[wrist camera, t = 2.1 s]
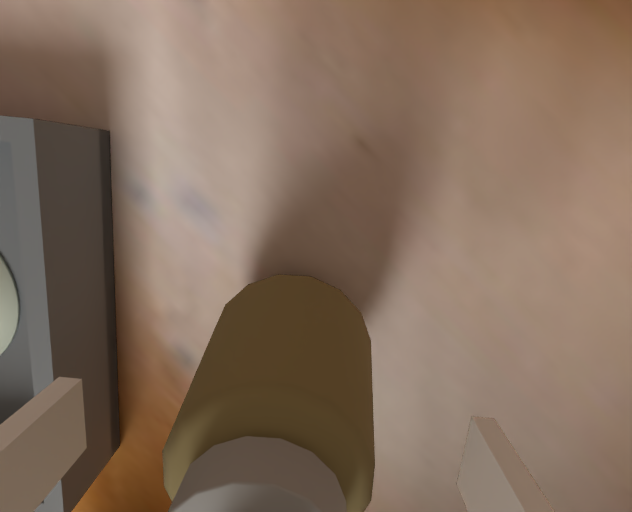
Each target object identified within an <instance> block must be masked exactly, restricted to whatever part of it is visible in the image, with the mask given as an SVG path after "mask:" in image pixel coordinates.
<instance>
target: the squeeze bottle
mask: <svg viewBox="0 0 632 512" xmlns="http://www.w3.org/2000/svg"><path fill="white" fill-rule="evenodd" d="M162 453H163V475H164V487H165V489H166V491H167V493H168V495H169V497H170V499H171V500H172V504H171V506H170V508H169V510H168V512H364V511H365V509H366V507H367V506H368V504H369V503H370V501H371V496H372V487H373V477H374V468H375V455H374V425H373V394H372V363H371V340H370V337H369V334H368V331H367V328H366V325H365V323H364V320H363V317H362V314H361V312H360V311H359V310H358V309H357V308H356V307H355V306H354V305H353V303H352V302H351V301H350V300H349V299H348V298H347V297H346V296H345V295H344V294H343V293H342V292H341V290H339V289H337V288H335V287H333V286H330V285H328V284H326V283H324V282H322V281H320V280H318V279H315V278H313V277H311V276H296V275H279V274H278V275H275V276H272V277H269V278H266V279H263V280H260V281H257V282H254V283H251V284H248V285H247V286H246V287H245V288H244V289H243V290H242V291H240V292H239V293H238V294H237V295H236V296H235V297H234V298H233V299H231V300H230V301H229V302H228V303H227V304H226V305H225V307H224V309H223V312H222V314H221V316H220V318H219V321H218V323H217V325H216V327H215V329H214V332H213V334H212V336H211V339H210V341H209V343H208V346H207V348H206V350H205V353H204V355H203V357H202V360H201V362H200V364H199V367H198V369H197V371H196V374H195V376H194V378H193V381H192V383H191V385H190V388H189V390H188V392H187V395H186V397H185V399H184V402H183V404H182V406H181V409H180V411H179V413H178V416H177V418H176V421H175V423H174V425H173V428H172V430H171V432H170V435H169V437H168V439H167V442H166V444H165V446H164V449H163V451H162Z"/></svg>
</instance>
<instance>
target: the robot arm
mask: <svg viewBox="0 0 632 512" xmlns="http://www.w3.org/2000/svg"><path fill="white" fill-rule="evenodd" d="M86 448H87V445H86V431H85V417H84V403H83V388H82V379H77V378H67V377H58V378H57V379H56V380H55V381H53V382H52V383H51V384H50V385H48V386H47V387H46V388H45V389H44V390H42V391H41V392H40V393H39V394H37V395H36V396H35V397H34V398H32V399H31V400H30V401H29V402H28V403H26V404H25V405H24V406H23V407H21V408H20V409H19V410H18V411H17V412H15V413H14V414H13V415H12V416H10V417H9V418H8V419H7V420H5V421H4V422H3V423H2V424H1V425H0V512H34V511H35V509H36V508H37V507H38V506H39V505H40V503H41V502H42V501H43V500H44V499H45V497H46V496H47V495H48V494H49V493H50V491H51V490H52V489H53V488H54V487H55V485H56V484H57V483H58V482H59V481H60V479H61V478H62V477H63V476H64V475H65V473H66V472H67V471H68V470H69V469H70V467H71V466H72V465H73V464H74V463H75V461H76V460H77V459H78V458H79V457H80V455H81V454H82V453H83V452H84V450H85V449H86ZM457 486H458V489H459V491H460V494H461V496H462V499H463V501H464V504H465V506H466V508H467V511H468V512H554V510H553V508H552V507H551V505H550V504H549V502H548V501H547V499H546V498H545V496H544V495H543V493H542V491H541V490H540V488H539V487H538V485H537V484H536V482H535V481H534V479H533V478H532V476H531V474H530V473H529V471H528V470H527V468H526V467H525V465H524V464H523V462H522V461H521V459H520V457H519V456H518V454H517V453H516V451H515V450H514V448H513V447H512V445H511V443H510V442H509V440H508V439H507V437H506V436H505V434H504V433H503V431H502V430H501V428H500V426H499V425H498V423H497V422H496V420H495V419H493V418H482V417H471V421H470V426H469V430H468V435H467V439H466V444H465V448H464V453H463V457H462V462H461V466H460V471H459V475H458V480H457Z"/></svg>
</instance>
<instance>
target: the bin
mask: <svg viewBox="0 0 632 512" xmlns="http://www.w3.org/2000/svg"><path fill="white" fill-rule="evenodd" d="M58 377H67V378H77V379H82V388H83V403H84V417H85V431H86V445H87V448H86V449H85V450H84V452H83V453H82V454H81V455H80V457H79V458H78V459H77V460H76V461H75V463H74V464H73V465H72V466H71V467H70V469H69V470H68V471H67V472H66V473H65V475H64V476H63V477H62V478H61V479H60V481H59V482H58V483H57V484H56V485H55V487H54V488H53V489H52V490H51V491H50V493H49V494H48V495H47V496H46V497H45V499H44V500H43V501H42V502H41V503H40V505H39V506H38V507H37V508H36V509H35V511H34V512H71V511H72V510H73V509H74V507H75V506H76V505H77V503H78V502H79V501H80V499H81V498H82V496H83V495H84V494H85V492H86V491H87V490H88V488H89V487H90V486H91V484H92V483H93V482H94V480H95V479H96V478H97V476H98V475H99V473H100V472H101V471H102V469H103V468H104V467H105V465H106V464H107V463H108V461H109V460H110V459H111V457H112V456H113V454H114V453H115V452H116V450H117V449H118V448H119V446H120V434H119V404H118V374H117V345H116V315H115V285H114V255H113V225H112V196H111V166H110V136H109V131H107V130H100V129H94V128H88V127H82V126H76V125H69V124H63V123H57V122H51V121H44V120H38V119H31V118H21V117H10V116H0V425H1V424H2V423H3V422H4V421H5V420H7V419H8V418H9V417H10V416H12V415H13V414H14V413H15V412H17V411H18V410H19V409H20V408H21V407H23V406H24V405H25V404H26V403H28V402H29V401H30V400H31V399H32V398H34V397H35V396H36V395H37V394H39V393H40V392H41V391H42V390H44V389H45V388H46V387H47V386H48V385H50V384H51V383H52V382H53V381H55V380H56V379H57V378H58Z"/></svg>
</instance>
